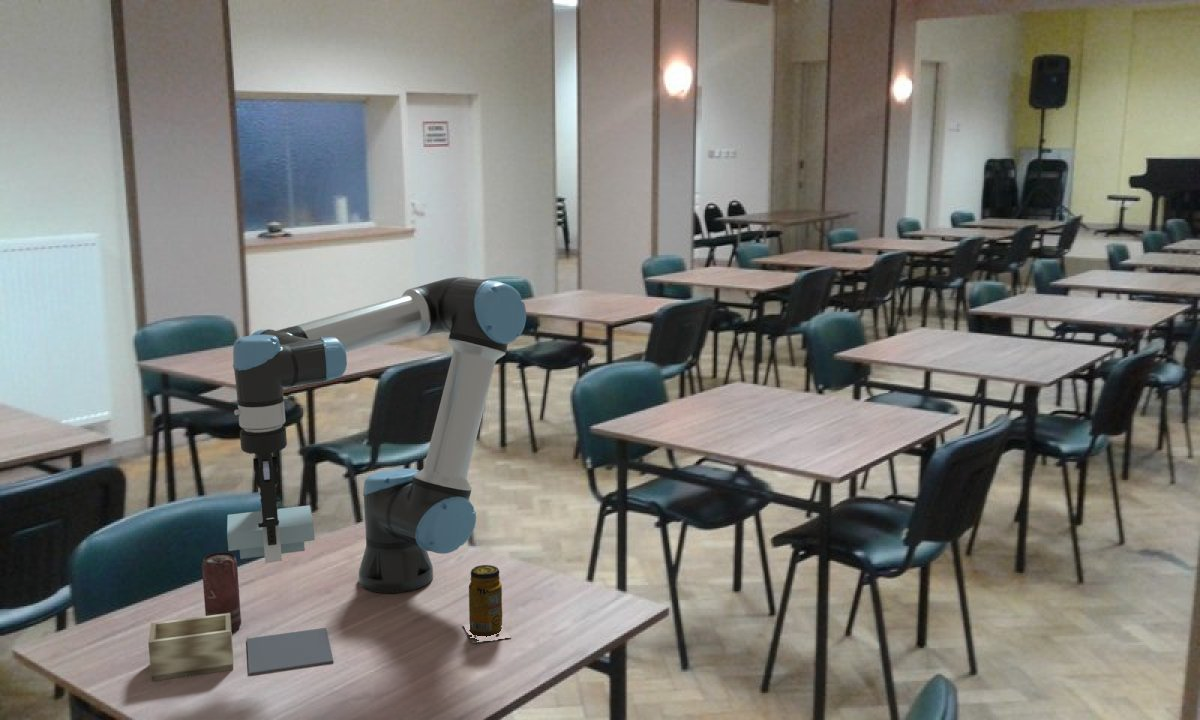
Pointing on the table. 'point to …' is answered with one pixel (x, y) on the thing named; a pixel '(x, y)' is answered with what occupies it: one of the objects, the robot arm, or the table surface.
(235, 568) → the can
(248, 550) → the lid
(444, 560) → the table surface
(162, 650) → the crate
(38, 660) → the table surface
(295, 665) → the mat
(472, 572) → the condiment
